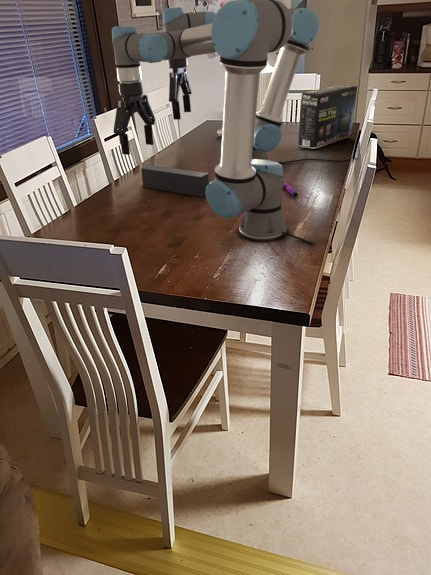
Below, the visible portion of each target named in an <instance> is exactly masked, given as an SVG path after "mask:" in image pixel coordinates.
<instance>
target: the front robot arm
mask: <svg viewBox="0 0 431 575" xmlns="http://www.w3.org/2000/svg"><path fill="white" fill-rule="evenodd" d="M288 9H289V8H288V7H287V5H286V4H285V3H283V2H281V1H280V0H230V1H227V2H226V3H224V4H222V6H221V7H220V9H218V10H217V12H215V13H216V15H215V17H214V20H213V23H211V24H207V25H202V26H198V27H193V28H189V29H184V30H179V31H172V32H164V31H162V32H160V31H159V32H145V33H138V32H137V27H136V26H134V25H119V26H118V25H117V26H113V27H112V28H111V37H112V41H111V43H112V48H113V53H114V61H115V62H114V63H115V67H116V75H117V81H118V82H119V83H118V91H119V95H120V97H122V100H116V102H115V106H116V110H115V117H114V125H113V131H112V132H113V134H115V135H117V136H118V139H119V144H120V147H121V148H120V149H121V154H122V155H126V156H127V155H128V156H129V155H131V150H130V143H129V134H128V133H127V130H128V127H129V125H130V124H129V123H130V120H131V117H132V116H133V115H134V114H135V113H137V114H138V115H139V117H140V118H141V120H142V121H143V123H144V125H143V129H144V131H143V132H144V138H145V145H149V146H154V136H153V135H154V134H153V132H154V131H153V126H155V125H156V124H155V123H156V117H155V114H154V112H153V110H152V106H151V105H150V102H149V98H148V95H147V94H144V87H143V82H142V80H143V77H142V68H141V63H149V64H156V63H160V62H161V63H162V61H167V60H169V59H178V58H187V59H188V58H190V57H195V56H201V55H207V54H215V53H216V54H217V55H219V64H220V65H221V67H222V68H223V69H224V71H225V74H224V75H225V76H224V93H223V94H224V95H223V110H222V113H223V114H222V128H221V129H222V137H221V146H220V147H221V148H220V150H221V151H220V163H218V164H217V165H216V166H215V168H214V179H213V180H211V181H210V182H209V184H208V185H207V187H206V195H205V199H206V202H207V204H208V206H209V208H210V209H211V211H212V212H213V213H214V214H215V215H217V217H219V218H221V219H225V220H227V219H233V218H238V217H239V216H241V215H242V216H241V220H240V222H239V226H238V232H239V235H240V236H241V237H242V238H244V239H247V240H250V241H254V242H271V241H277V240H279V239H281V238H283V237H285V236H288V237H290V238H293V239H296V240H298V241H301V242H303V243H306V244H310V245H311V244H313V241H311V240H308V239H305V238H301V237H299V236H297V235H294V234H292V233H289V232H287V223H286V221H285V216H284V214H283V210H282V200H283V188H282V182H283V180H284V169H283V165H282V164H280V163H278V162H279V161H277V162H275V161H276V160H273V161H270V160H271V159H268V160H260V159H254V160H252V152H253V141H254V130H255V120H256V113H257V108H258V98H259V89H260V88H259V86H260V76H261V75H260V74H261V72H262V71H263V70H265V69H266V68H267V66H268V58H269V54H270V53H274V52H277V51H280V49H281V48H282V47H283V46H284V45H285V44H286V43H287V41H288V40H289V38H290V36H291V33H292V28H293V21H292V16H291V13H290V11H289V10H288Z"/></svg>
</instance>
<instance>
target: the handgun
mask: <svg viewBox="0 0 431 575" xmlns="http://www.w3.org/2000/svg"><path fill="white" fill-rule="evenodd" d="M283 189H286V191H287V192H289V193H290V195H291V196H292V197H293V198H298V196H299V194H298V192H297V191H296V190H295V189H294V188H293V187H292V186H291V185H289V184H288V183H287V182H286V181H285V180H284V179H283V182H282V190H283Z"/></svg>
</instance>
